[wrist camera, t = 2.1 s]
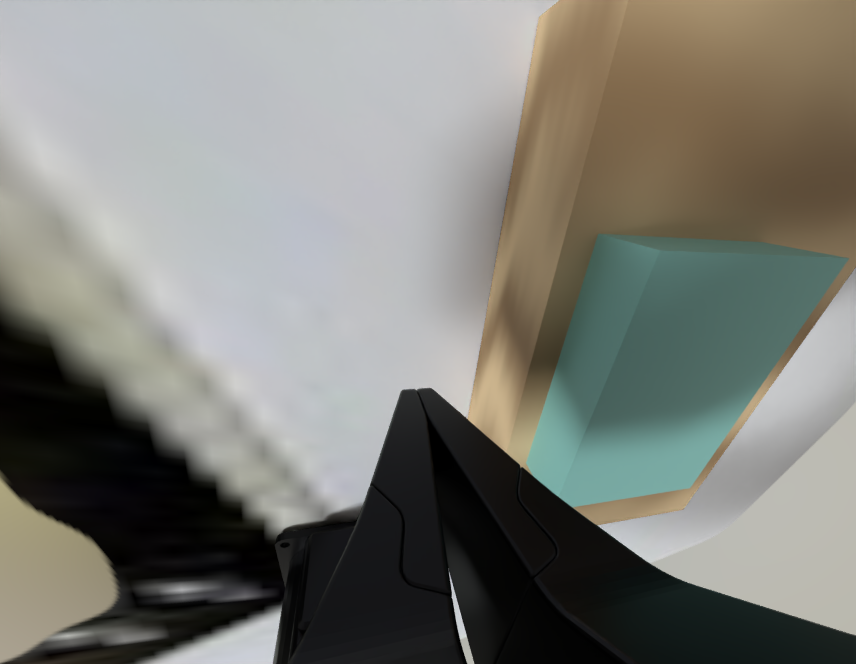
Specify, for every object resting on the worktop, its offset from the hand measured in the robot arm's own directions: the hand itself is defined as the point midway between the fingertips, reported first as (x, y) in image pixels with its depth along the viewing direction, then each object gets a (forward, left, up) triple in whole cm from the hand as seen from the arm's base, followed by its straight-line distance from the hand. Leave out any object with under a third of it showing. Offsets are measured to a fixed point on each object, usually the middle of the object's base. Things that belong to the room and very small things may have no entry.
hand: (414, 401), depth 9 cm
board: (0, -10, -5) cm, 11 cm away
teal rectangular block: (0, -8, -1) cm, 8 cm away
